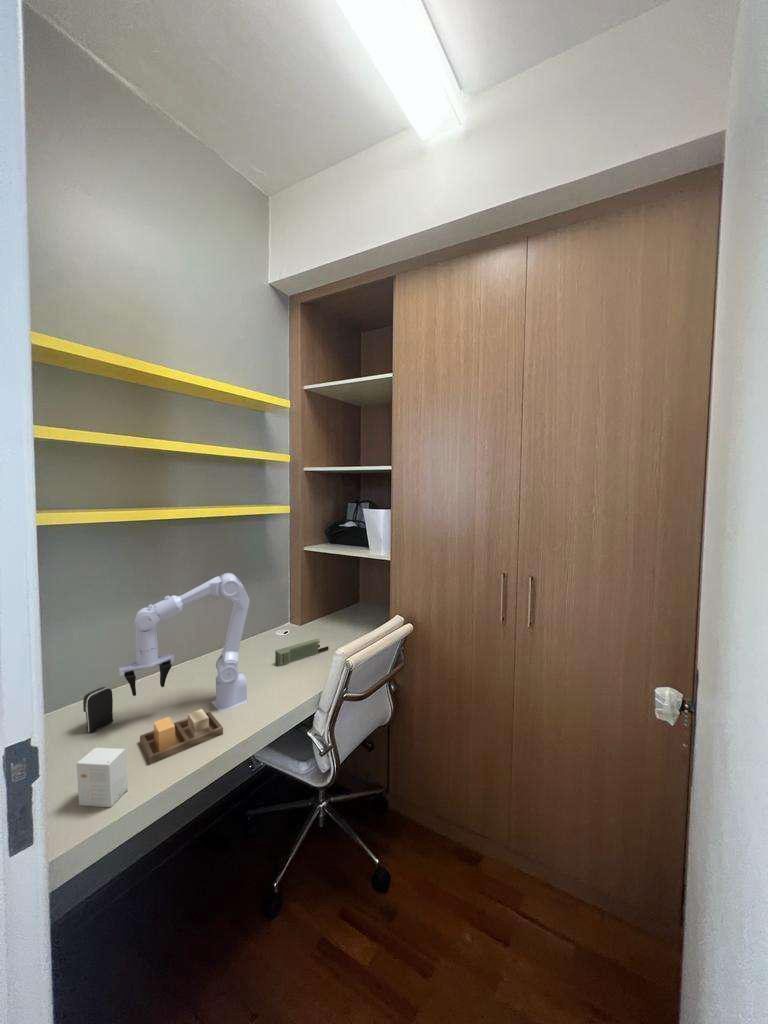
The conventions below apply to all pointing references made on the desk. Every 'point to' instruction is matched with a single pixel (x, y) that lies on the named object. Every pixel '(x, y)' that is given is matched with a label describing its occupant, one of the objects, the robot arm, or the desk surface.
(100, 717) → the battery charger
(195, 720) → the maple block
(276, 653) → the handheld radio
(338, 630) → the desk surface
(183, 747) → the slot rack
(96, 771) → the small box
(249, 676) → the desk surface
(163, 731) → the plug block
